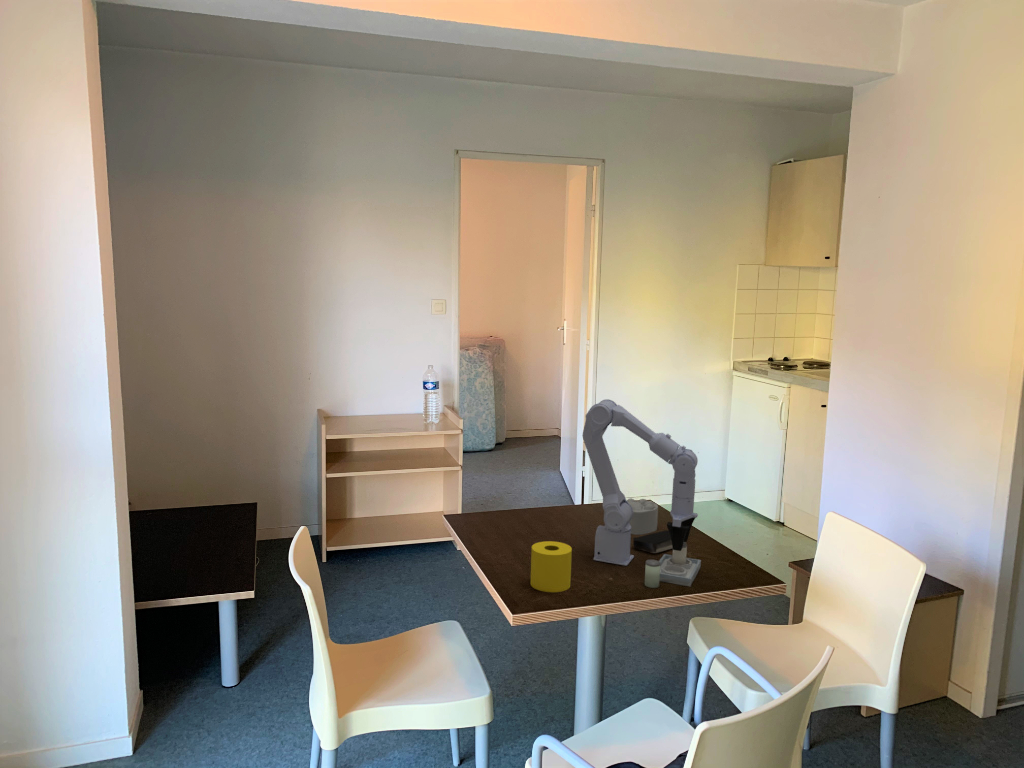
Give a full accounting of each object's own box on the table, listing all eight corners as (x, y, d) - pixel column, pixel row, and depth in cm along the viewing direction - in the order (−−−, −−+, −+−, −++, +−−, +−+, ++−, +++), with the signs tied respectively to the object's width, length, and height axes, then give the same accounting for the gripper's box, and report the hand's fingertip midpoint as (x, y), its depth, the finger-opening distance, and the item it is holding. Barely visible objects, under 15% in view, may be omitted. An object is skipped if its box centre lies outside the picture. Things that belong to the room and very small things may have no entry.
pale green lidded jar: (643, 586, 189) (644, 563, 188) (646, 581, 192) (647, 558, 191) (657, 588, 187) (658, 565, 187) (660, 583, 191) (661, 561, 190)
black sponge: (652, 557, 210) (652, 544, 210) (629, 548, 217) (630, 536, 217) (689, 546, 220) (690, 534, 220) (667, 538, 227) (667, 527, 227)
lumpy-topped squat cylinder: (612, 527, 236) (613, 500, 235) (639, 520, 244) (641, 494, 243) (638, 536, 228) (639, 508, 227) (665, 528, 236) (666, 501, 235)
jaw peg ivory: (671, 566, 200) (672, 545, 199) (672, 562, 203) (673, 540, 203) (685, 568, 199) (686, 546, 198) (686, 564, 202) (687, 542, 202)
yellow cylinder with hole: (578, 587, 187) (579, 550, 186) (545, 595, 181) (547, 557, 180) (554, 574, 195) (556, 539, 194) (522, 581, 190) (523, 545, 189)
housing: (651, 579, 193) (651, 571, 193) (663, 561, 207) (664, 553, 207) (690, 586, 189) (690, 578, 189) (700, 567, 203) (701, 559, 203)
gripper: (693, 505, 191) (690, 556, 192) (703, 491, 204) (699, 540, 205) (665, 501, 193) (662, 551, 195) (677, 488, 207) (674, 535, 208)
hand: (680, 545), depth 200 cm, fingers open, 7 cm apart
